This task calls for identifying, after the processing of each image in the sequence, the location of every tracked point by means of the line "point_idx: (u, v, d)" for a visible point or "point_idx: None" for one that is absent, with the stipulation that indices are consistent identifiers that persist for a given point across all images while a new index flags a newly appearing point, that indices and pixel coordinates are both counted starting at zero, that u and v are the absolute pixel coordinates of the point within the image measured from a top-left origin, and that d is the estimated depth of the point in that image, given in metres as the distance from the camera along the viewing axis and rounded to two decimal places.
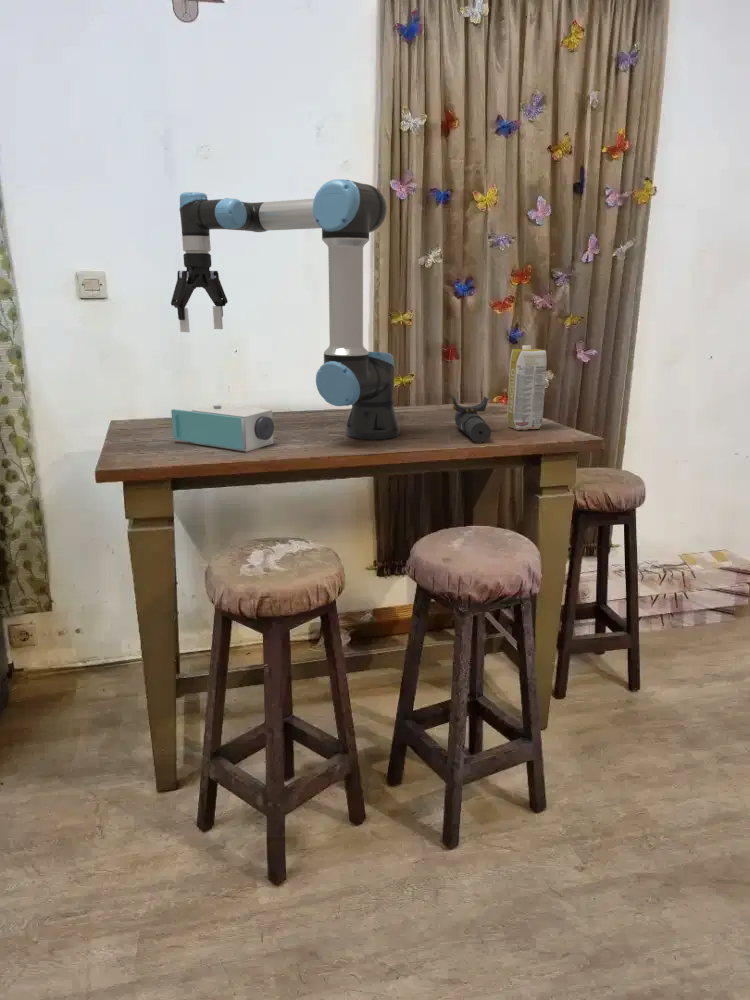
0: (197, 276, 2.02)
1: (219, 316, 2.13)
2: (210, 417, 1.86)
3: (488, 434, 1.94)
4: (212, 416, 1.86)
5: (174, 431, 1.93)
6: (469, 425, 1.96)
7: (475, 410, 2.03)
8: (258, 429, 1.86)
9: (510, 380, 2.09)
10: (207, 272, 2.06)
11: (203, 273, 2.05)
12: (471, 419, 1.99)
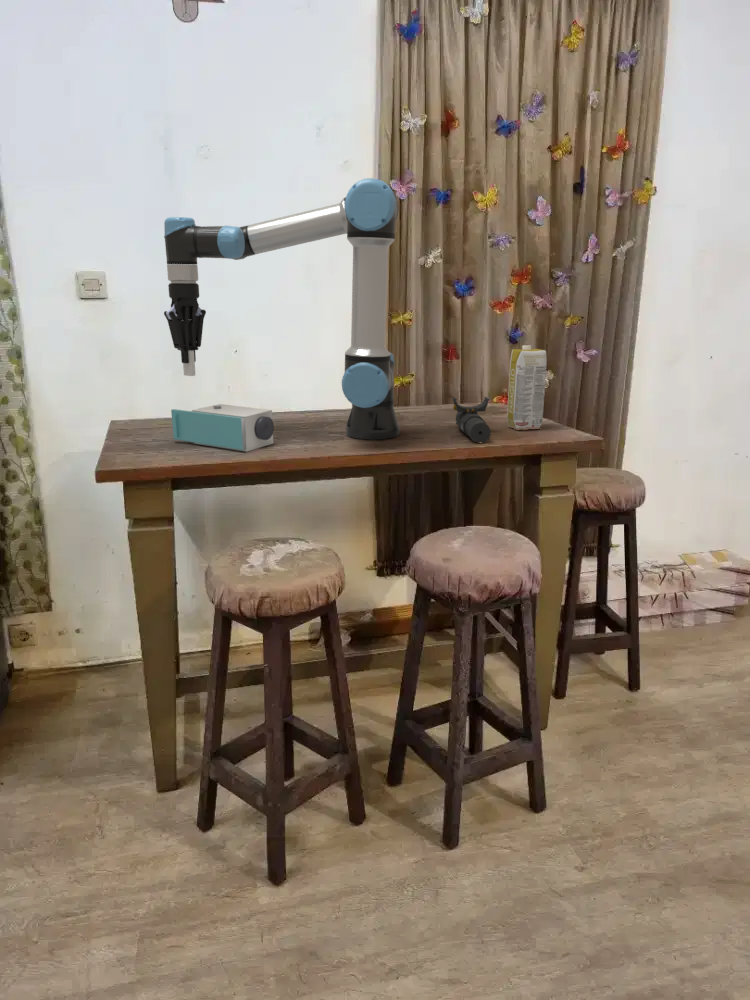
0: (184, 310, 1.85)
1: None
2: (210, 417, 1.86)
3: (488, 434, 1.94)
4: (212, 416, 1.86)
5: (174, 431, 1.93)
6: (469, 425, 1.96)
7: (475, 410, 2.03)
8: (258, 429, 1.86)
9: (510, 380, 2.09)
10: (196, 302, 1.89)
11: (191, 299, 1.87)
12: (471, 419, 1.99)
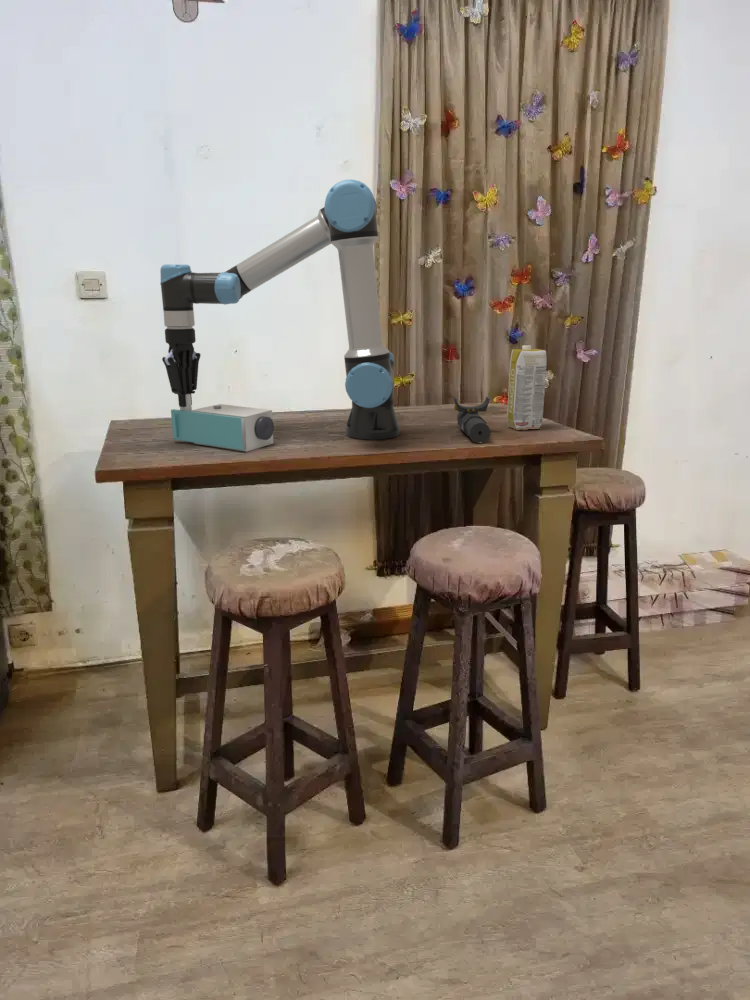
0: (181, 355, 1.86)
1: None
2: (210, 417, 1.86)
3: (488, 434, 1.94)
4: (212, 416, 1.86)
5: (174, 431, 1.93)
6: (469, 425, 1.96)
7: (476, 410, 2.03)
8: (258, 429, 1.86)
9: (510, 380, 2.09)
10: (191, 346, 1.90)
11: (188, 343, 1.88)
12: (471, 419, 1.99)
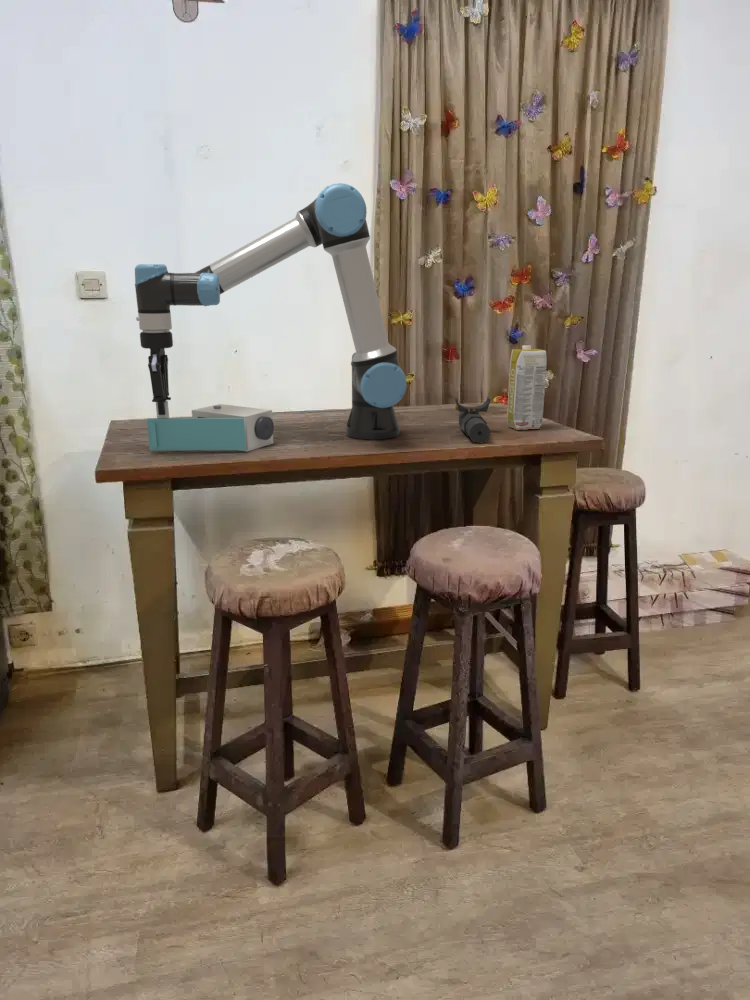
0: (163, 360, 1.76)
1: None
2: (202, 421, 1.81)
3: (487, 435, 1.93)
4: (205, 420, 1.81)
5: (153, 441, 1.81)
6: (469, 425, 1.96)
7: (477, 410, 2.03)
8: (258, 429, 1.86)
9: (510, 380, 2.09)
10: (164, 350, 1.80)
11: (163, 347, 1.78)
12: (472, 419, 1.98)
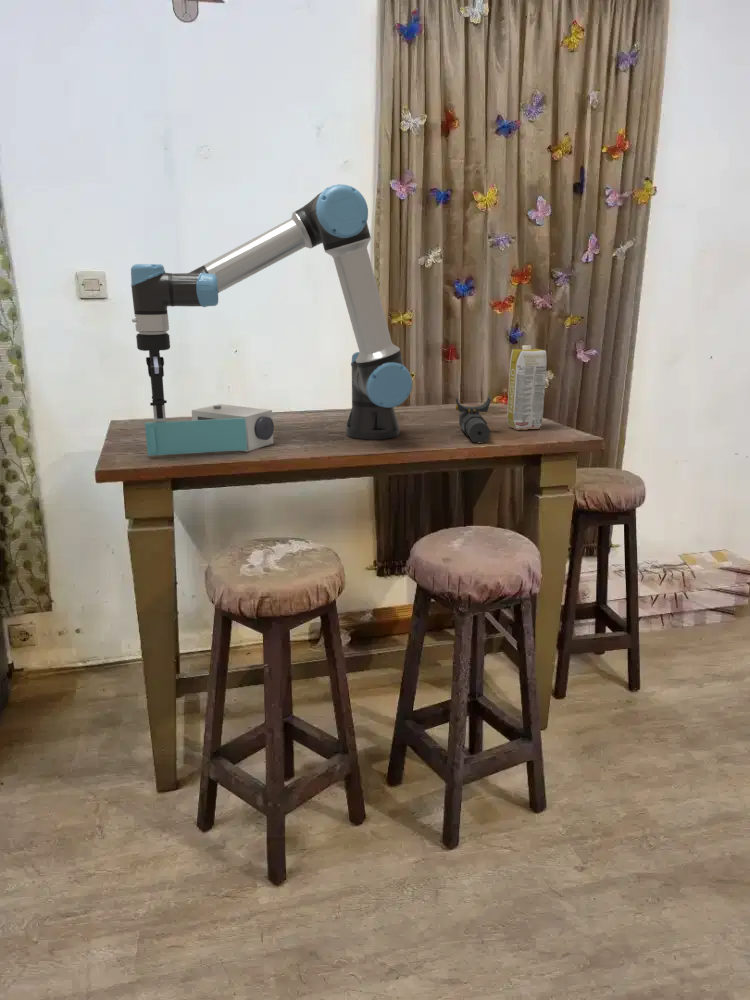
0: (162, 362, 1.72)
1: None
2: (203, 423, 1.79)
3: (487, 435, 1.93)
4: (206, 422, 1.79)
5: (152, 446, 1.76)
6: (469, 425, 1.96)
7: (477, 410, 2.03)
8: (258, 429, 1.86)
9: (510, 380, 2.09)
10: None
11: None
12: (472, 419, 1.98)
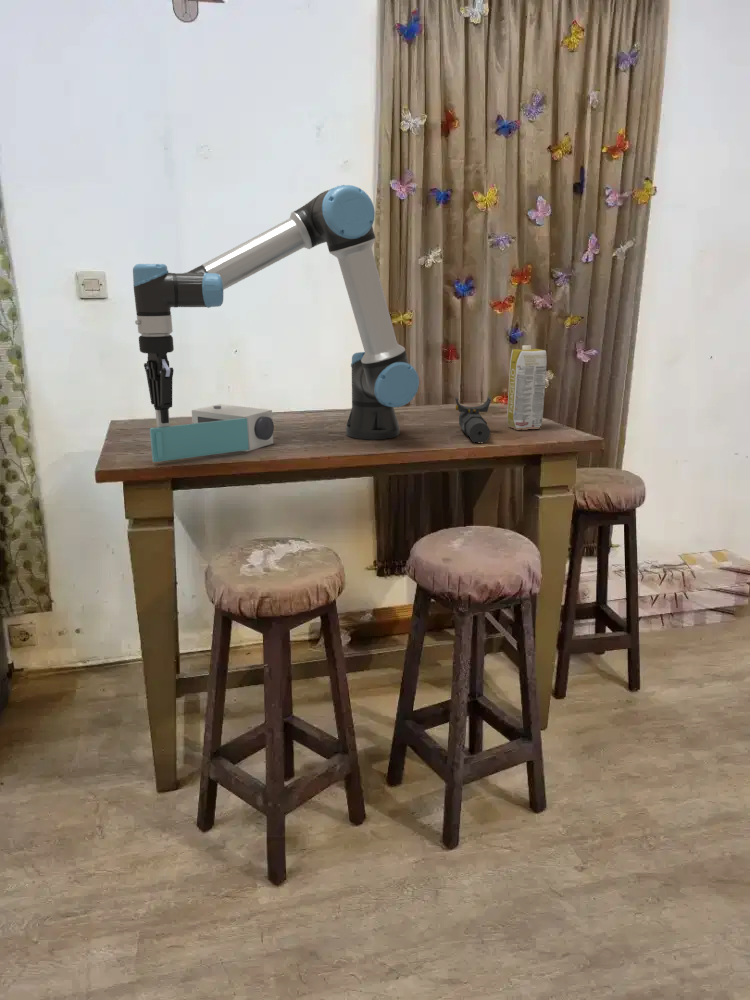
0: None
1: None
2: (207, 425, 1.76)
3: (487, 435, 1.93)
4: (210, 424, 1.77)
5: (159, 452, 1.71)
6: (469, 425, 1.96)
7: (477, 410, 2.02)
8: (258, 429, 1.86)
9: (510, 380, 2.09)
10: None
11: None
12: (472, 419, 1.98)
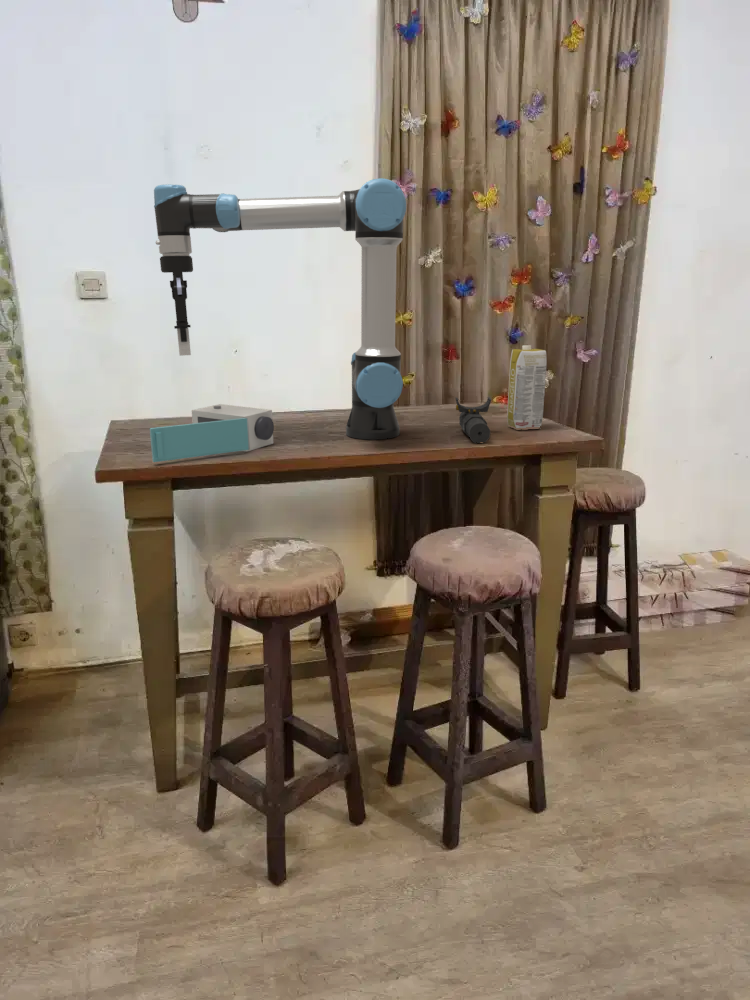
0: (185, 284, 1.75)
1: None
2: (207, 425, 1.76)
3: (487, 435, 1.93)
4: (210, 424, 1.77)
5: (159, 452, 1.71)
6: (469, 425, 1.96)
7: (477, 411, 2.02)
8: (258, 429, 1.86)
9: (510, 380, 2.09)
10: None
11: None
12: (472, 420, 1.98)
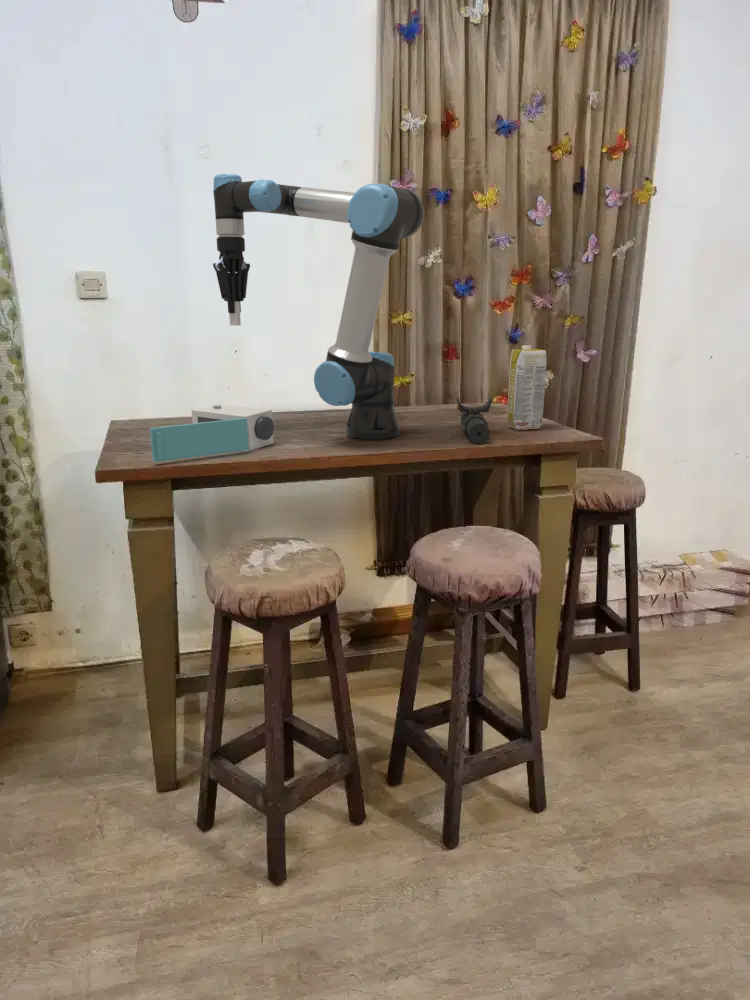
0: (231, 262, 1.98)
1: None
2: (207, 425, 1.76)
3: (487, 435, 1.93)
4: (210, 424, 1.77)
5: (159, 452, 1.71)
6: (469, 426, 1.96)
7: (478, 411, 2.02)
8: (258, 429, 1.86)
9: (510, 380, 2.09)
10: (241, 256, 2.01)
11: (238, 252, 2.00)
12: (472, 420, 1.98)
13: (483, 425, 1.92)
